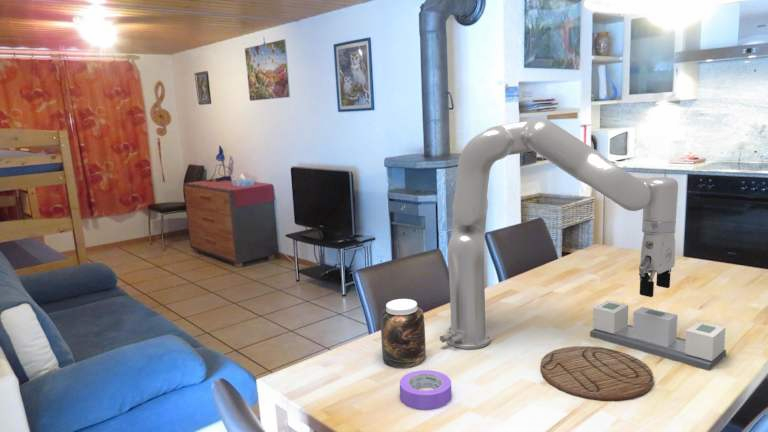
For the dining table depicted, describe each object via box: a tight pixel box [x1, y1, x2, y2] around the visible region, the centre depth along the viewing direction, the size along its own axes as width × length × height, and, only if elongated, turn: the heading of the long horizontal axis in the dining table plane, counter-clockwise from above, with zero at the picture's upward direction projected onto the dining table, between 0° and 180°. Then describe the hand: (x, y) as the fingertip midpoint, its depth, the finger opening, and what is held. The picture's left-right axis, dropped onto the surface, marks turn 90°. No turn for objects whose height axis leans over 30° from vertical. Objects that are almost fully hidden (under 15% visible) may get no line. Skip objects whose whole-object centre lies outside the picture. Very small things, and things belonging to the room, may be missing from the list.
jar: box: [380, 298, 427, 369], centre depth 142 cm, size 12×12×15 cm
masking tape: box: [399, 369, 452, 411], centre depth 123 cm, size 12×12×4 cm
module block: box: [632, 306, 678, 346], centre depth 142 cm, size 5×9×7 cm, turn 41°
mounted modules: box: [592, 300, 726, 361], centre depth 142 cm, size 8×30×6 cm, turn 41°
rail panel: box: [589, 324, 727, 371], centre depth 143 cm, size 11×30×2 cm, turn 41°
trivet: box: [539, 345, 654, 402], centre depth 129 cm, size 25×25×2 cm
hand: (654, 291), depth 140 cm, fingers open, 9 cm apart
